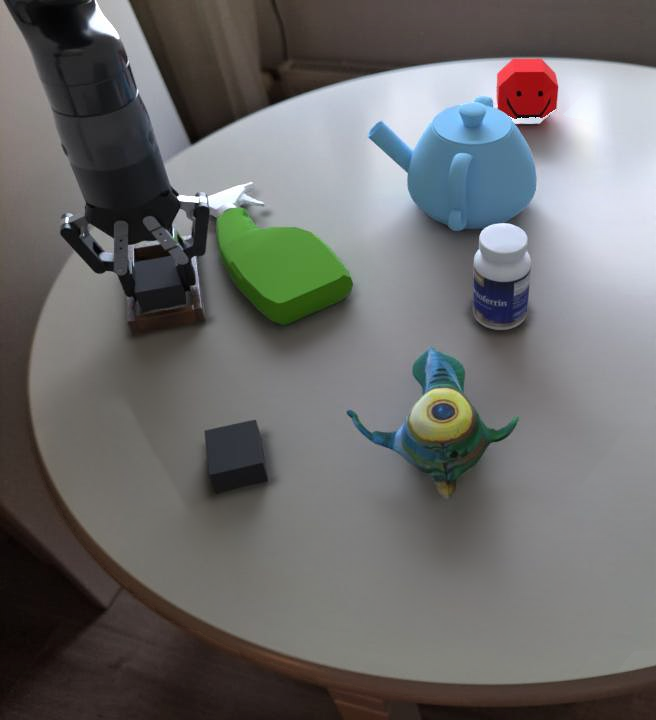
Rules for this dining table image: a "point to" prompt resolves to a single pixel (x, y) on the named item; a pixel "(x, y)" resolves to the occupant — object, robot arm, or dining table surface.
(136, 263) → the pad
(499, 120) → the teapot
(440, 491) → the decorative fish
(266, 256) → the spray bottle
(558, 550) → the dining table surface
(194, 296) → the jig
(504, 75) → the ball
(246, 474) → the pad
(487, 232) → the pill bottle
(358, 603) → the dining table surface
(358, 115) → the dining table surface
